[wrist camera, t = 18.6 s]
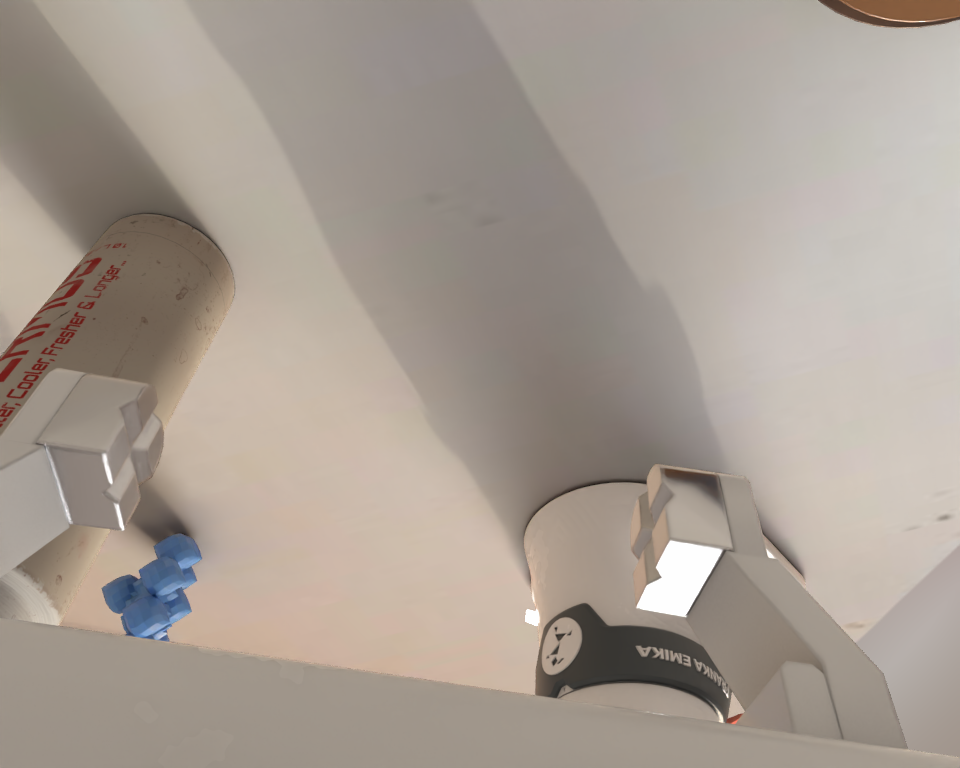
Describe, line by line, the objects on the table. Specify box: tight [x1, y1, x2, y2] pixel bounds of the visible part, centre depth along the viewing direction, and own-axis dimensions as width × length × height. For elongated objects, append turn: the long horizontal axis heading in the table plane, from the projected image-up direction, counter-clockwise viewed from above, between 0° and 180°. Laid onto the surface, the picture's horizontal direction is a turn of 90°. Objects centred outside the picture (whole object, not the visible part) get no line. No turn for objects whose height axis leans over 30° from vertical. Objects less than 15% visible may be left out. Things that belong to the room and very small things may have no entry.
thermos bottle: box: [0, 214, 235, 626], centre depth 36 cm, size 8×8×28 cm
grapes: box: [102, 533, 202, 642], centre depth 60 cm, size 12×7×12 cm, turn 160°
